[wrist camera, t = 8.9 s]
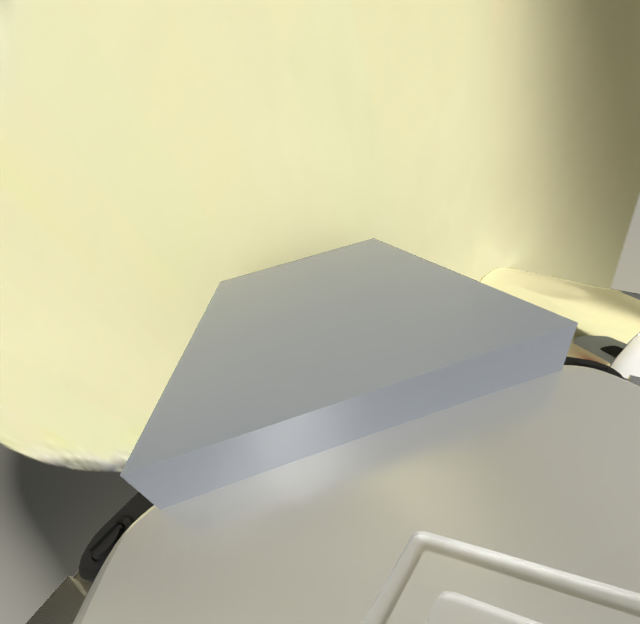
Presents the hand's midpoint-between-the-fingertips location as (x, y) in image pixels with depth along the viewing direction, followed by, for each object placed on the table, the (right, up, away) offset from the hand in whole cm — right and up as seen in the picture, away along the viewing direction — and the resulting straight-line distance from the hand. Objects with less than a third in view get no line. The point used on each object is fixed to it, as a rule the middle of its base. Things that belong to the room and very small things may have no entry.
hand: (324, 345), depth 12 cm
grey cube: (0, +1, +2) cm, 2 cm away
